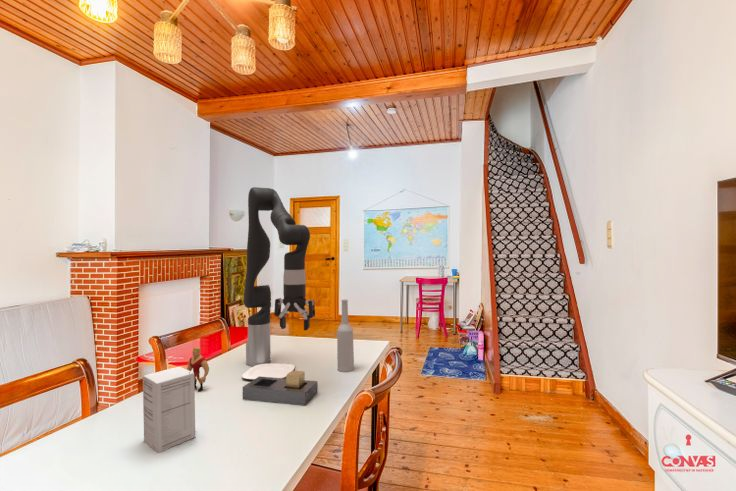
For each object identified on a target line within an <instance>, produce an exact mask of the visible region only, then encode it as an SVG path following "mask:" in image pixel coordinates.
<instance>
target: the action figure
mask: <svg viewBox="0 0 736 491" xmlns="http://www.w3.org/2000/svg"><path fill="white" fill-rule="evenodd" d="M201 368H202V369H203V370H204V374H203V376H201V377H200V373H201V372H200V369H201ZM186 370H189V371H191V372H193V373H194V388H195V389H196V388H197V387H198V386H197V382H198V383H199V385H200V386H199V388H198V390H197V392H201V391H202V390H204V384H203V383H205V382H206V379H207V376H208V374H209V371H210V367H209V364H208V361H207V359H205V357H203V356H202V355H201V348H200V347H197V346H194V347H193V348H192V357H190V358H189V359H188V361H187V367H186Z"/></svg>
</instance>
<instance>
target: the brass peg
mask: <svg viewBox="0 0 736 491" xmlns="http://www.w3.org/2000/svg"><path fill="white" fill-rule="evenodd" d="M285 379H286V388H288V389H302V388H303V387H304V386H305V380H306V379H305V371H302V370H301V371H300V370H293V371H291V372H290V373H288V374H287V375H286V377H285Z"/></svg>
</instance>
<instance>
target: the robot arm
mask: <svg viewBox="0 0 736 491" xmlns="http://www.w3.org/2000/svg"><path fill="white" fill-rule="evenodd" d="M247 199H248V200H247V206H248V207H247V210H248V230H247V233H248V234H247V245H246V272H245V273H246V274H245V281H244V282H245V283H244V289H243V291H244V292H243V304H244V307H246V308H247V309H255V308H256V309H257V308H260V310H258V311H257V312H256V313H254V314H252V315H250V316H249V317H247V341H246V342H245V365H247V366H250V367H253V366H256V365H259V364H271V363H272V361H271V359H272V358H271V354H272V353H271V306H272V305H271V302H272V300H271V299H272V292H271V288H270V287H269V285H255V283H256V280H257V278H258V276H259V274H260V272H261V271H262V270H263V268H264V267H265V266H266V264H267V263H268V262H269V260H270V257H271V240H270V238H269V236H268V234H267V233H266V231H265V229H264V228H263V225H262V224H261V221H260V215H259V214H260V213H259V212H260V211H261V212H262V211H263V212H264V211H265V212H266V211H267V212H269V211H271V213H270V222H271V223H272V225H273V226H274V228H276V231H277V235H278V240H279V242H280V244H282V245H285V246H296V247H295V249H294V250H293V251H290V252H289V251H288V252H286V253H285V254H284V255H283V256H284V257H283V267H284V268H283V285H282V286H283V288H282V289H283V298H281V297H279V298H276V299H275V300H274V313H273V314H274V317H278V318H279V327H280V328H281V330H284V329H286V328H287V317H286V316H287V315H288V313H292V312H294V313H299V314H300V315H301V316H302V317H303V331H308V330H309V329H310V324H311V323H310V322H311V320H310V319H312V318H315V316H316V308H315V307H316V306H315V300H314V299H310V300H309V299H308V300H307V298H306V297H307V296H306V294H307V293H306V289H307V288H306V286H307V285H306V284H307V283H306V282H307V278H306V260H305V259H306V254H307V250H308V246H309V242H310V238H311V232H310V230H309V227H307V226H306V225H304V224H296V221H295V219H294V217H293V216H292V215H291V214H290V213H289V211H287V209H286V208H285V206H284V204H283V202H282V199H281V197H280V196H279V194H278V192H277V191H276V190H275V189H273V188H270V187H254V186H253V187H251V188H250V189H249V191H248V198H247ZM282 305H283V306H284V307H283V308H282ZM306 305H307V307H308V309H307V307H306Z"/></svg>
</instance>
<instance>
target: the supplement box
mask: <svg viewBox="0 0 736 491" xmlns="http://www.w3.org/2000/svg"><path fill="white" fill-rule="evenodd" d="M195 389H196V388H194V373H193V371H192V370H191V371H189V370H187V368H184V367H182V366H176V367H171V368H167V369H164V370H160V371H156V372H152V373H149V374H146V375H143V376H142V401H143V402H142V404H143V405H142V406H143V408H142V409H143V411H142V412H143V441H144V442H145V443H146V444H147V445H148V446H149V447H150V448H151V449H153V451H155V452H156V453H161V452H162V451H165V450H167V449H170V448H173V447H175V446H178V445H179V444H182V443H185V442H187V441H189V440H192V439H193V438H196V403H195V402H196V400H195V398H196V397H195V392H196V391H195Z"/></svg>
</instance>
